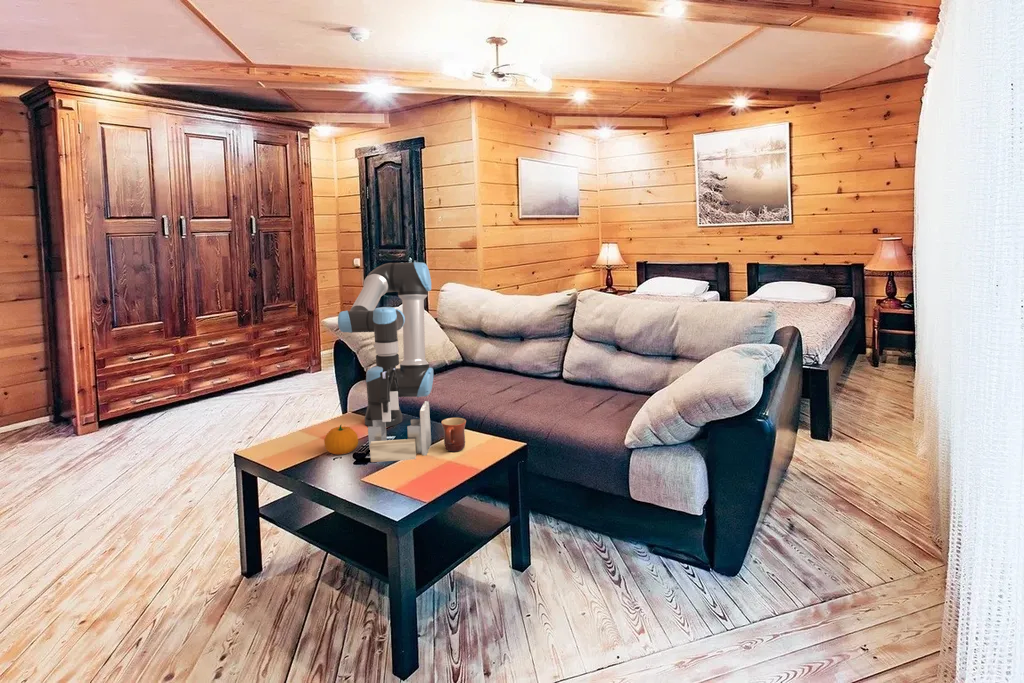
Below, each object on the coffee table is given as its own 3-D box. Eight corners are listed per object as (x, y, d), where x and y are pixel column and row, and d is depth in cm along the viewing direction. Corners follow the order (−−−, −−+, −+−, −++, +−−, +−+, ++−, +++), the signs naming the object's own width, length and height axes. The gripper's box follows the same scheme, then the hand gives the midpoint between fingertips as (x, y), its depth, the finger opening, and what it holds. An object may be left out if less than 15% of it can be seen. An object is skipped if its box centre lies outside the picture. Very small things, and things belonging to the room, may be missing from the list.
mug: (446, 444, 223) (445, 417, 222) (470, 445, 222) (468, 418, 220) (436, 456, 212) (435, 427, 210) (460, 457, 210) (459, 428, 208)
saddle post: (374, 446, 223) (372, 420, 221) (387, 446, 223) (385, 419, 221) (369, 454, 215) (367, 427, 213) (382, 454, 215) (380, 426, 213)
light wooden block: (372, 457, 212) (371, 441, 211) (416, 455, 214) (415, 438, 213) (371, 462, 208) (369, 445, 207) (415, 459, 210) (414, 443, 209)
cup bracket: (413, 443, 225) (411, 401, 222) (431, 443, 225) (429, 401, 222) (407, 455, 213) (405, 411, 210) (426, 455, 213) (424, 410, 210)
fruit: (355, 443, 227) (353, 417, 225) (362, 453, 216) (360, 426, 215) (322, 449, 222) (320, 422, 220) (328, 459, 211) (325, 432, 210)
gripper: (383, 347, 217) (387, 405, 220) (367, 361, 192) (371, 427, 196) (404, 346, 217) (408, 405, 220) (391, 361, 192) (394, 426, 196)
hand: (390, 415), depth 208 cm, fingers open, 13 cm apart
